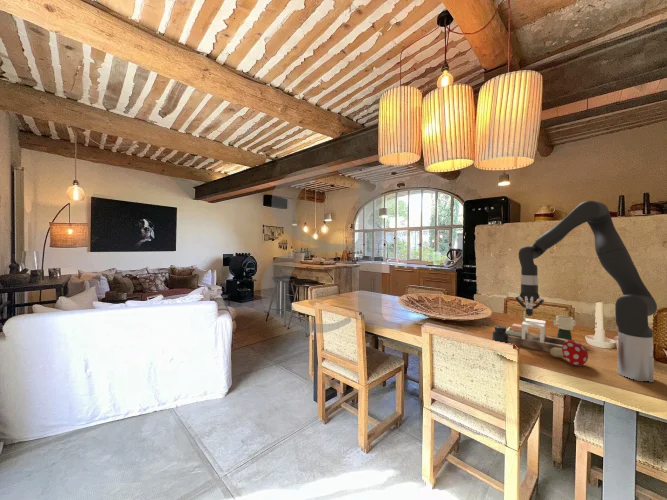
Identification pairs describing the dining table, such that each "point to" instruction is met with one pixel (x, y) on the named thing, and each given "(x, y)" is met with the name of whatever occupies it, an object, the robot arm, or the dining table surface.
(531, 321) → the tunnel
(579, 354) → the decorative mushroom
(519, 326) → the block
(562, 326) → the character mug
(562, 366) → the dining table surface
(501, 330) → the supplement bottle
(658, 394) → the dining table surface
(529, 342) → the track
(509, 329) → the sled
